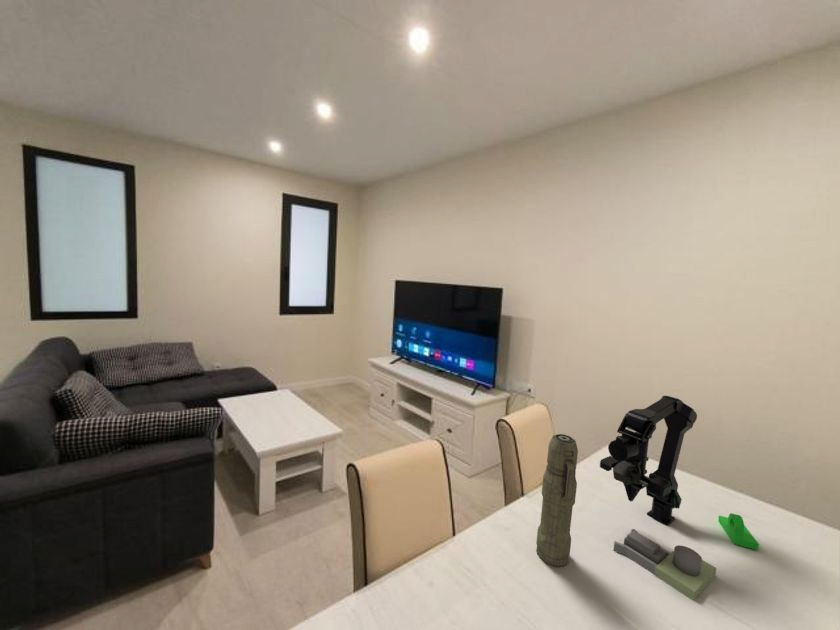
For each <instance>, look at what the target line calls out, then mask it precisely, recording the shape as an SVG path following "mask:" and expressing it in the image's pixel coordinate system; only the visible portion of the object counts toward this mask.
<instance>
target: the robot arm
mask: <svg viewBox="0 0 840 630" xmlns="http://www.w3.org/2000/svg"><path fill="white" fill-rule="evenodd" d="M662 420H664V423H665V425H666V428H667V430H666V433H665V437H664V440H663V441H664V442H663V445H662V449H661V454H660V457H659V463H658V465H657V469H656V470H654V471H653V472H650V473H649V474H648V470H647V462H648V461H649V456H648V451H649V449H648V448H649V440H650V439H652V438H653V434H654V432H655V431H656V430H657V424H658V423H659V422H660V421H662ZM697 420H698V414H697V412H696V410H695V409H694V408H692V407H691V406H689V405H687V404H686V403H684V402H683V401H682V400H680V398H677V397H673V396H670V395H662V396H661V398H660V399H659V400H657V401H655V402H654V403H652V404H651V405H649V406H647V407H645V408H635V409H631V410H629V411H628V412H626V414H624V416H623V418H622V420H621V422H620V425H619V426H618V429H617V431H616V432H617V433H618V434H620V435H617V436H616V437H615V439H614V440H612V441H610V442H609V443H608V446H607V448H608V449H607V450H608V453H609V454H610V455H609V456H606V457H604V458H602V459H600V462H599V468H601V469H602V470H604V471H607V472H609V471H612V472H613V479H614V480H615V481H619V482H621V483H622V484H623V485H624V488H625V489H624V490H625V492H626V493H625V494H626V496H627V500H628V501H629V502H634V500H635V498H636V497H637V496H638V494H639V493H640V492H641V490H642V489H645V491H646V496H647V497H650V498H652V504H651V509H650V510H649V511H648V512H646V515H647V516H648V517H650V518H652V519H654V520H656V521H658V522H660V523H662V524H664V525H666V526H669V525H670V524H671V523H673V522H674V521H675V520H676V517H675V516H672V515H673V509H680V507H681V504H682V501H683V500H682V497H681V496H680V494H679V492H678V488H679V484H678V481H677V479H676V475H675V474H676V469H677V466H678V462H679V459H680V458H679V457H680V453H681V450H682V445H683V442H684V436H685V433H687V432H688V431H690V430H691V429H692V428H693V426H694V424H695V423H696V421H697ZM646 474H648V475H646Z"/></svg>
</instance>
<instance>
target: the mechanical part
mask: <svg viewBox="0 0 840 630" xmlns="http://www.w3.org/2000/svg"><path fill="white" fill-rule="evenodd" d="M717 521H718V523H719V524H720V526H721V527H722V529H723V530H724V532H725V533H726V534H727V536H728V538H729V539H730V540H731V542H732V544H733V545H737V546H741V547H745V548H748V549H752V550H755V551H759V547H760V543H759V542H758V541H757V539H756V538H755V537H754V536H753V535H752V533H751V532H750V530H749V529H748V528H747V527H746V526H745V522H744V520H743V517H742V515H740V514H736V513H732V512H731V513H729V515H728V517H726V516H722V515H718V519H717Z"/></svg>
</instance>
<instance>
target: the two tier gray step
mask: <svg viewBox="0 0 840 630" xmlns="http://www.w3.org/2000/svg"><path fill="white" fill-rule="evenodd" d="M636 531H637V530H636ZM636 531H633V532H629V533H628V534H627V535H626V536H625V538H624V540H623V544H624V545H626V546H628V547H630V548H632V549H633V550H635V551H636V552H638V553H640V554H641V555H643V556H644V557H646V558H648V559H649V560H651V561H652V562H654V563H656V564H657V565H658V564H659V563H660V562H661V561H662V560H664V559H665V558H666V552H665V551H663V550H662V549H660V547H661V545H660V544H658V543H656V542H655V541H653V540H651V539H649V538H648V537H647V536H645V535H643V534H641V533H639V532H638V531H637V532H636Z"/></svg>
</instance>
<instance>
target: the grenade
mask: <svg viewBox="0 0 840 630" xmlns="http://www.w3.org/2000/svg"><path fill="white" fill-rule="evenodd" d="M547 447H548V449H547V458H546V463H547V465H546V468H545V471H544V473H543V475H542V484H541V495H542V503H541V504H542V505H541V513H540V523H539V525H538V527H537V535H536V551H535V552H536V555H537V557H538V558H539V559H540V561H542V562H543V563H545V564H546V565H548V566H550V567H554V568H556V569H557V568H564V567H566V566H567V565H568V564H569V557H570V553H571V544H572V537H571V536H572V535H571V525H572V515H573V507H574V505H575V503H576V496H577V487H578V486H577V485H578V482H577V478H576V472H577V471H576V470H577V463H578V455H579V454H578V453H579V451H578V450H579V449H578V445H577V441H576V439H574V438H573V437H571V436H569V435H567V434H563V433H558V434H553V435H552V437H551V439H550V441H549V443H548V446H547Z"/></svg>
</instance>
